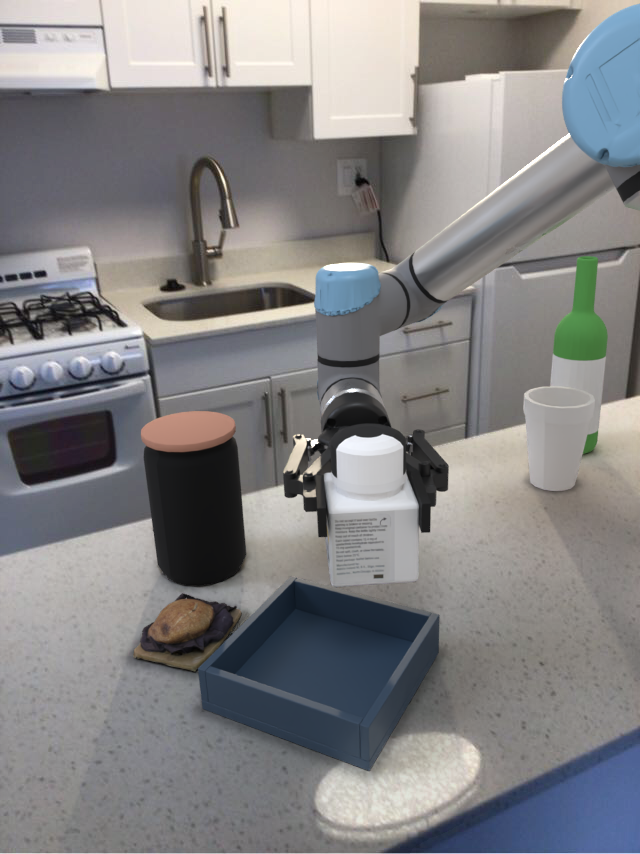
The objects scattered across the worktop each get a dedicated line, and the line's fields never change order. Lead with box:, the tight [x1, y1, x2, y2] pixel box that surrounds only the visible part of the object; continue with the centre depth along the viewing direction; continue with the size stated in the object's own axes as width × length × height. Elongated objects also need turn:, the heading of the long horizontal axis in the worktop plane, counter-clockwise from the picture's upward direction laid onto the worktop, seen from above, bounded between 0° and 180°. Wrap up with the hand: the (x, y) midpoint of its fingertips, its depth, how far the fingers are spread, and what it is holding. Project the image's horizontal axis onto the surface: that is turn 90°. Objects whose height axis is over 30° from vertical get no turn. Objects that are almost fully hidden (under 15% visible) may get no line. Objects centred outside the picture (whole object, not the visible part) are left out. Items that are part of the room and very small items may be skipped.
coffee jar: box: [140, 410, 247, 587], centre depth 88 cm, size 11×11×18 cm
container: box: [324, 424, 420, 588], centre depth 67 cm, size 8×8×13 cm
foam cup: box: [522, 385, 595, 492], centre depth 107 cm, size 10×9×13 cm
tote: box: [197, 575, 441, 772], centre depth 71 cm, size 17×17×4 cm
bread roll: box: [132, 593, 242, 672], centre depth 78 cm, size 11×8×4 cm
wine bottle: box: [549, 255, 609, 455], centre depth 116 cm, size 8×8×30 cm
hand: (374, 520), depth 63 cm, fingers closed on container, 8 cm apart
